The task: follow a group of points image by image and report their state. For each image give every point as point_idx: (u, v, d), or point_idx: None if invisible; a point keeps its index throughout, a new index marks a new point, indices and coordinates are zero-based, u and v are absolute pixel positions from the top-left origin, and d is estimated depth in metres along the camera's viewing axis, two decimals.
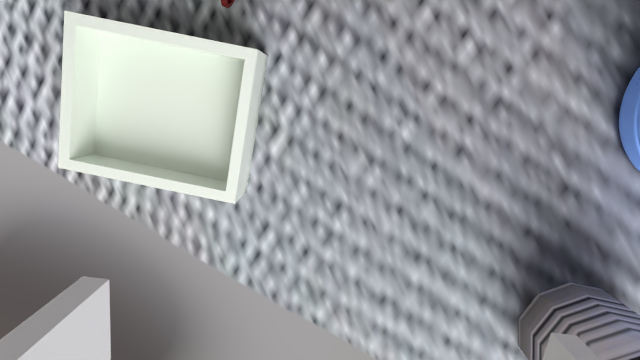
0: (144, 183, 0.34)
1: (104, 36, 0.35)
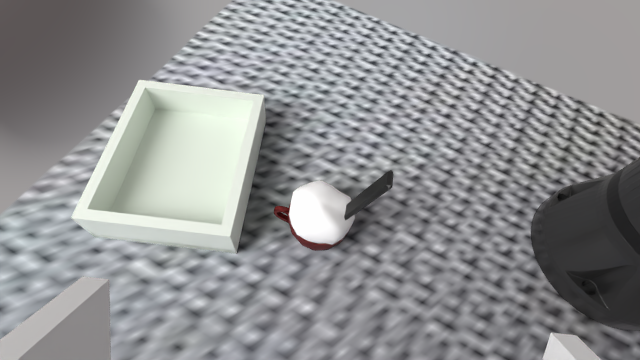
0: (111, 139, 0.36)
1: None
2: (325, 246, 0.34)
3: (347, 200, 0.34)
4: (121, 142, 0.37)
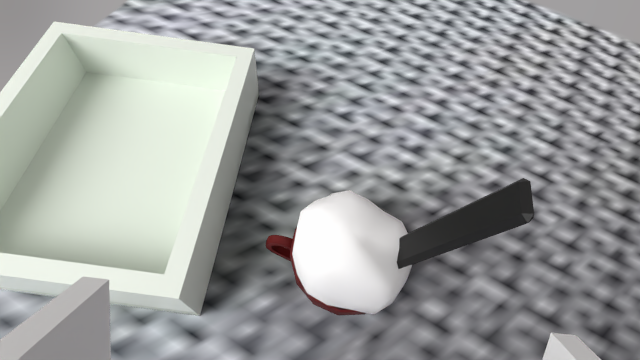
0: None
1: None
2: (358, 312, 0.18)
3: (400, 229, 0.18)
4: (6, 119, 0.21)
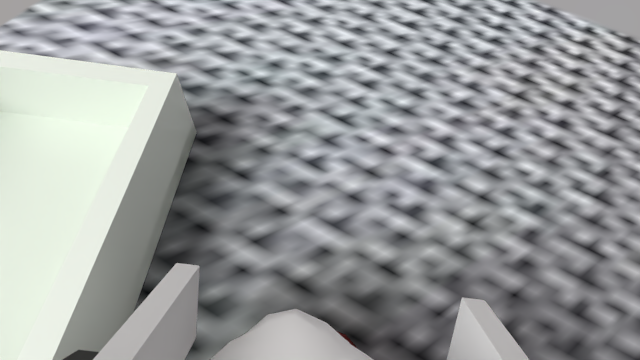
0: None
1: None
2: None
3: None
4: None
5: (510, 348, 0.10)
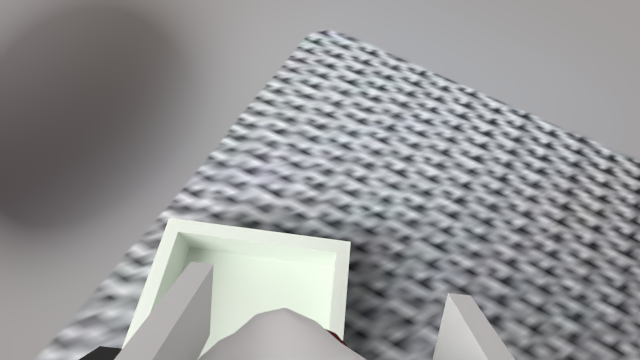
0: (129, 334, 0.24)
1: (328, 270, 0.30)
2: None
3: None
4: None
5: (492, 341, 0.10)
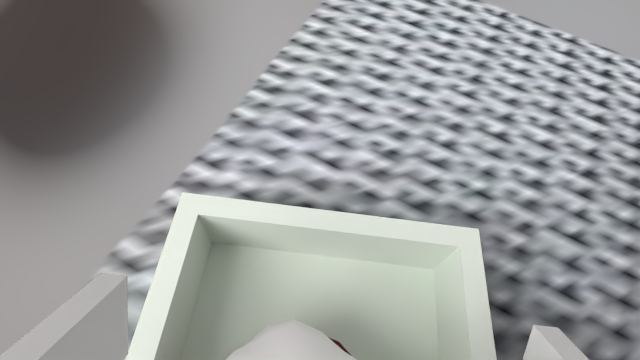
0: None
1: (428, 275, 0.19)
2: None
3: None
4: None
5: None
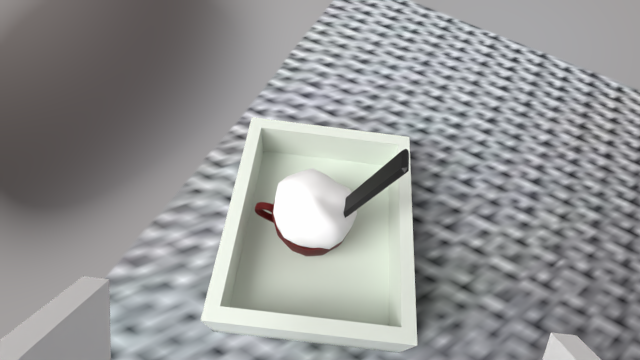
0: (233, 200, 0.28)
1: None
2: (320, 251, 0.27)
3: (346, 192, 0.27)
4: (244, 204, 0.28)
5: None
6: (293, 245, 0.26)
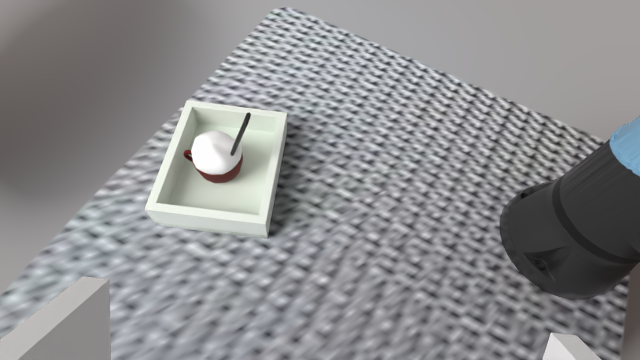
0: (169, 148, 0.46)
1: None
2: (219, 177, 0.45)
3: (235, 142, 0.45)
4: (176, 151, 0.47)
5: None
6: (202, 173, 0.45)
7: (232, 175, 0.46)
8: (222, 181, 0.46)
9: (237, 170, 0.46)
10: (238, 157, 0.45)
